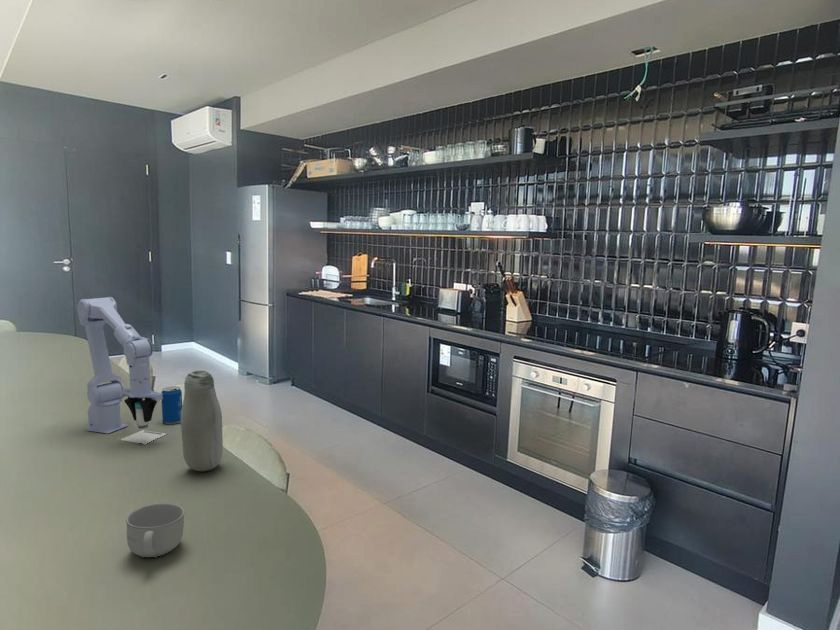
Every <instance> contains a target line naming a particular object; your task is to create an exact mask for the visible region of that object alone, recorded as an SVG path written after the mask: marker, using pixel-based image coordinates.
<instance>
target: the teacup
mask: <svg viewBox="0 0 840 630" xmlns="http://www.w3.org/2000/svg"><path fill="white" fill-rule="evenodd" d="M184 516H185V509H184V507H183V506H181V505H179V504H176V503H171V502H170V503H169V502H157V503H150V504H147V505H146V504H145V505H143V506H141V507H138V508H136V509H134V510H132V511H131V512H129V514H127V516H126V518H125V523H126V541H127V546H128V549H129V550H130V551H131V552H132V553H133V554H135V555H137V556H139V557H141V558H144V557H155V556H160V555H163V554H165V553H167V552H169V551H170V552H171V551H173V550H174V549H175V548H176V547H177V546H178V545H179V544H180V542H181V541H182V538H183V535H184V527H185V525H184V524H185V522H184V521H185V520H184V519H185V517H184ZM170 552H169V553H170ZM167 554H168V553H167ZM165 555H166V554H165ZM163 556H164V555H163ZM160 557H161V556H160ZM155 558H156V557H155Z"/></svg>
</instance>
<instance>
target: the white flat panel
mask: <svg viewBox="0 0 840 630" xmlns="http://www.w3.org/2000/svg"><path fill="white" fill-rule="evenodd" d="M166 434H167V433H165V432H158V431H150V430H144V429H142V430H140V431H137V432H135V433H133V434H131V435H128V436H125V437H123V438H121V439H120V442H127V443H134V444H139V443H142V444H141V445H147V443H148V444H150V443H152V442H154V441H156V440H158V439H157V438H159V439H161V438H163V437H165V436H167V435H166ZM164 435H165V436H164ZM162 436H163V437H162ZM160 437H161V438H160ZM155 439H156V440H155ZM153 440H154V441H153ZM151 441H152V442H151ZM149 442H150V443H149Z"/></svg>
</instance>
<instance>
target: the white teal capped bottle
mask: <svg viewBox="0 0 840 630" xmlns="http://www.w3.org/2000/svg"><path fill="white" fill-rule="evenodd" d="M139 402H140V401H138V402H135V408H136V421H135V422H136V426H137V427H138V429H140V430H141V429H142V430H143V429H147V428H148V427H149V425H150V421H148V422H145V421H144V417H143V410H142V407H141V405H140V403H139Z"/></svg>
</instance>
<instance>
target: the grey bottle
mask: <svg viewBox="0 0 840 630" xmlns="http://www.w3.org/2000/svg"><path fill="white" fill-rule="evenodd" d="M214 381H215V379H214V377H213V375H212V374H211V373H209V371H206V370H193V371H191V372H189V373H188V374H187V375H186V377H185V378H184V382H183V384H184V385H183V387H184V394H183V399H182V410H181V422H180V429H181V442H182V454H183V456H182V457H183V459H184V462H185V464H186V465H187V466H188V467H189V468H190V469H191V470H193V471H196V472H207V471H211V470H213V469H214V468H217V466H218V465H219V464H220V462H221V459H222V456H223V450H224V447H223V444H224V443H223V442H224V441H223V440H224V439H223V414H222V409H221V405H220V402H219V399H218V397H217V392H216V389H215V382H214Z"/></svg>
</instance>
